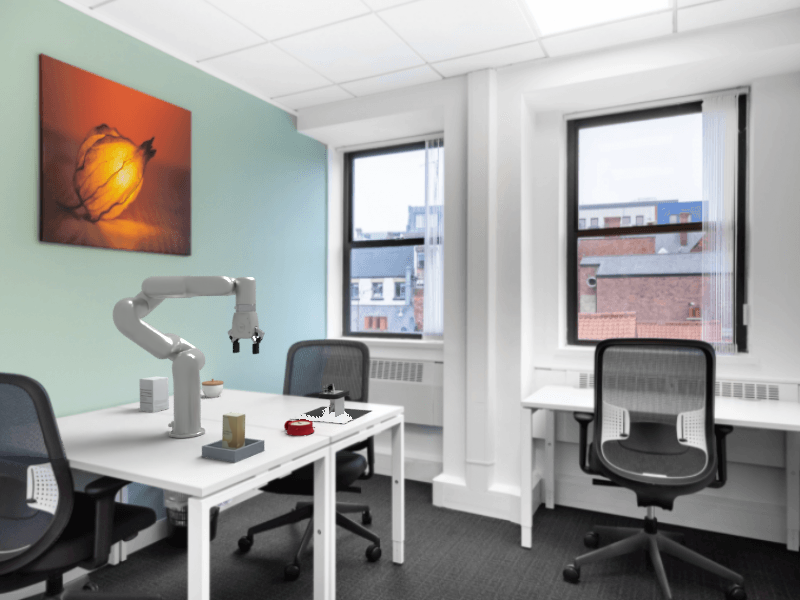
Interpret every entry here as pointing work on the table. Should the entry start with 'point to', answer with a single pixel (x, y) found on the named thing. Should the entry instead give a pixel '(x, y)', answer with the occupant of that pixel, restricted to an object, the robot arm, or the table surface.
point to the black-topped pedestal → (336, 404)
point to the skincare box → (233, 431)
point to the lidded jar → (212, 388)
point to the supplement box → (154, 394)
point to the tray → (220, 453)
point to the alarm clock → (299, 427)
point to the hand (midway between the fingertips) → (245, 353)
